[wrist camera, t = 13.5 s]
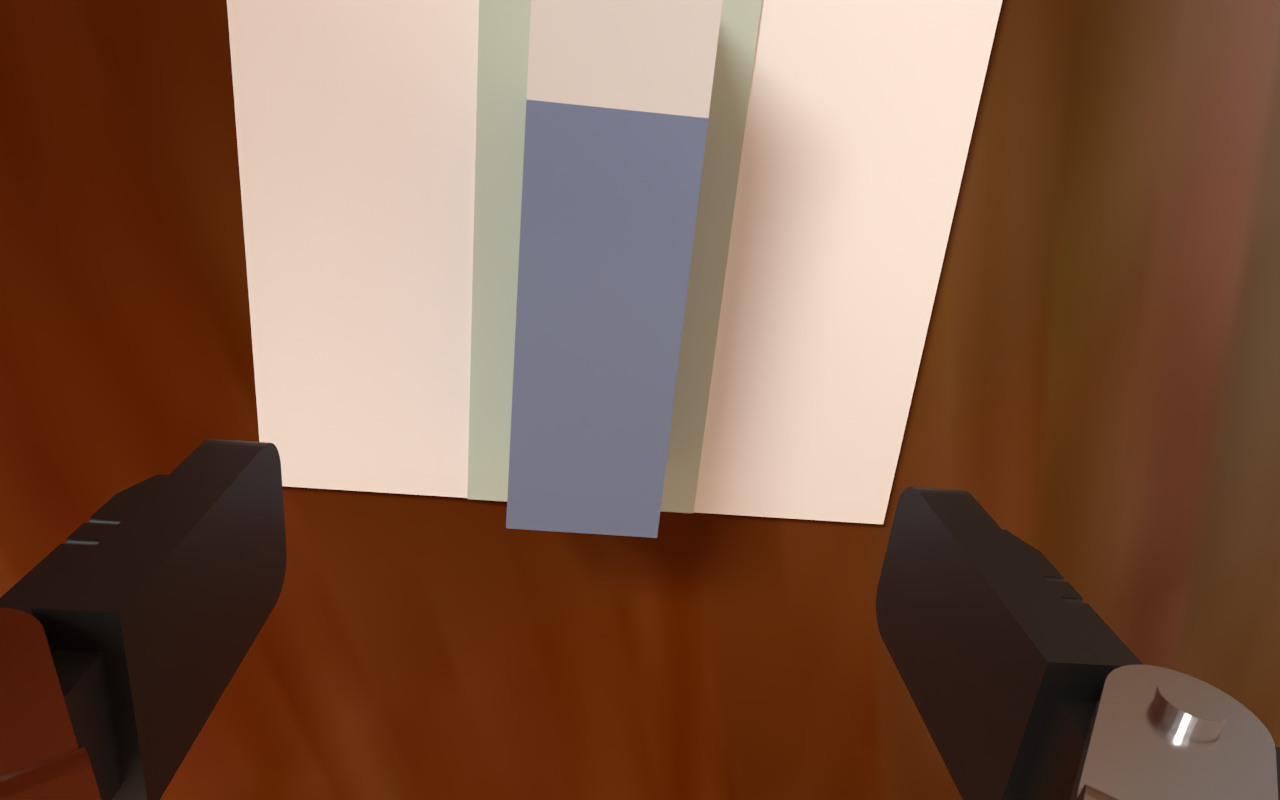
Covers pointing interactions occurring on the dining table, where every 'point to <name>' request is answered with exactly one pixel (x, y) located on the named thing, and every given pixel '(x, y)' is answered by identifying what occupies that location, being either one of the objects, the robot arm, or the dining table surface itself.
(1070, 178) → the dining table surface
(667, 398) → the eraser
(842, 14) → the paper sheet
